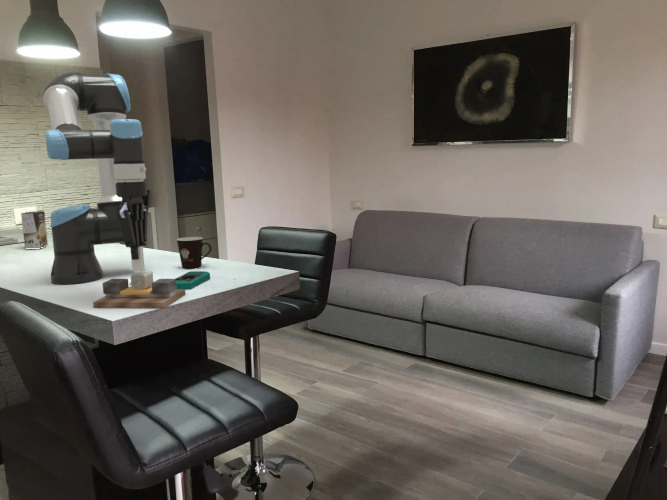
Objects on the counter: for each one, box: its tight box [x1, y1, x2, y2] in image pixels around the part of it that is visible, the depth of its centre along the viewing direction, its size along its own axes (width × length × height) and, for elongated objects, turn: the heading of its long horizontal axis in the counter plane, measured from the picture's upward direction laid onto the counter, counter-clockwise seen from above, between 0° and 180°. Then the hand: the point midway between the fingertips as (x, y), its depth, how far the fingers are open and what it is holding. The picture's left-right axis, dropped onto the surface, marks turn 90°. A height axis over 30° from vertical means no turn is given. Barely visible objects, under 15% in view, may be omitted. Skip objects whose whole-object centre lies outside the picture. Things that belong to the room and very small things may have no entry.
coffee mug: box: [176, 236, 212, 270], centre depth 190 cm, size 12×9×10 cm
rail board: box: [92, 278, 186, 309], centre depth 147 cm, size 19×14×6 cm
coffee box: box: [20, 210, 49, 249], centre depth 243 cm, size 9×6×16 cm
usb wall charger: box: [128, 270, 154, 290], centre depth 146 cm, size 4×7×4 cm, turn 171°
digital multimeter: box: [174, 270, 211, 291], centre depth 166 cm, size 7×15×3 cm, turn 169°
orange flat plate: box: [120, 285, 152, 295], centre depth 147 cm, size 8×6×1 cm
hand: (138, 270), depth 146 cm, fingers closed
